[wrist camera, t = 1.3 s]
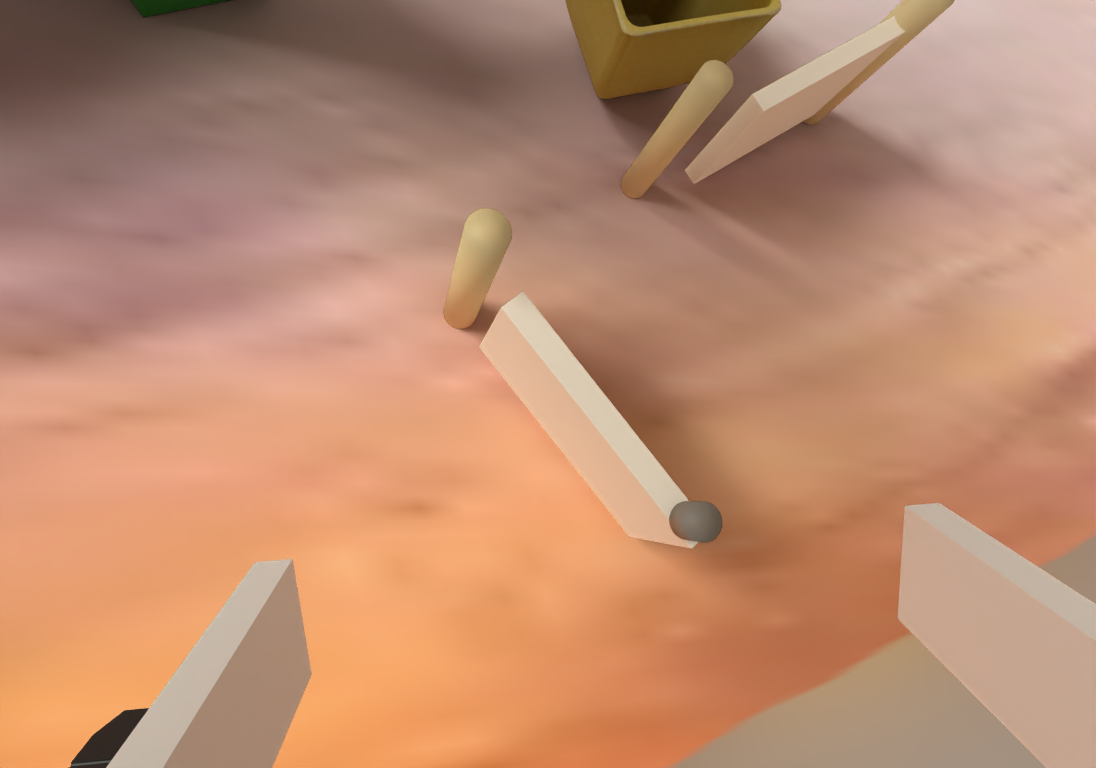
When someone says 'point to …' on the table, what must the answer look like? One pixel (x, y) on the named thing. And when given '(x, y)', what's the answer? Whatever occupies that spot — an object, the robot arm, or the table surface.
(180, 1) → the milk carton
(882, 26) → the fence
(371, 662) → the table surface
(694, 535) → the gate
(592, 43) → the flower pot
